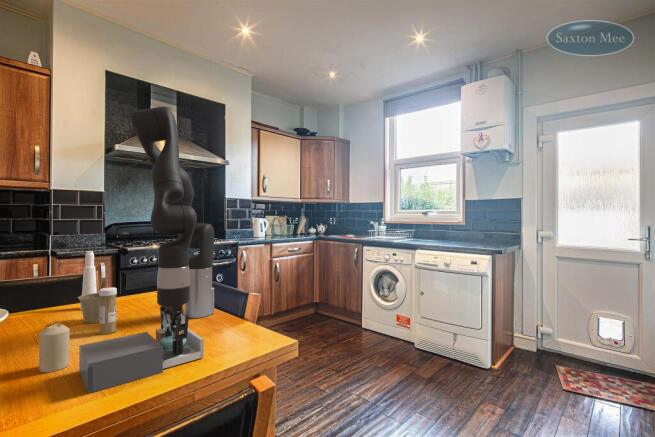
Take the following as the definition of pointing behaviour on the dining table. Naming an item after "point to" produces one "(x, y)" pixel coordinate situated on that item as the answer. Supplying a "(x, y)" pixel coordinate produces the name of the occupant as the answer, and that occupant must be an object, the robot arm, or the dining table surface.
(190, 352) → the tray
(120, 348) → the block
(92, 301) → the flower pot
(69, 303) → the dining table surface
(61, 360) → the candle
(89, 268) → the cosmetic bottle
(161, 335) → the block
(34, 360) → the dining table surface
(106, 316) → the sprinkles bottle
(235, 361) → the dining table surface
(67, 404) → the dining table surface
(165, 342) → the teal flattened disc
